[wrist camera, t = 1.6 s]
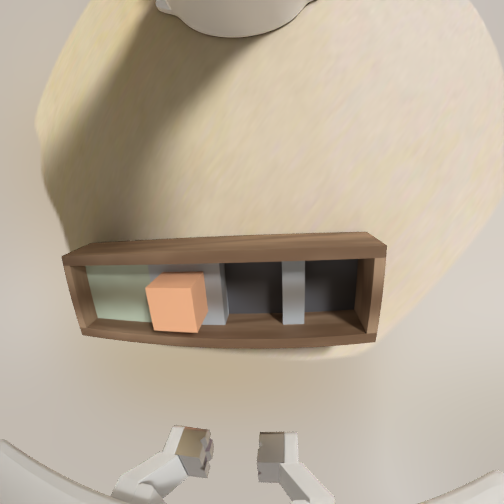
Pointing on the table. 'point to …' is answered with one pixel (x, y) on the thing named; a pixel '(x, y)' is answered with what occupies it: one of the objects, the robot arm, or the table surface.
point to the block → (177, 301)
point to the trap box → (237, 289)
